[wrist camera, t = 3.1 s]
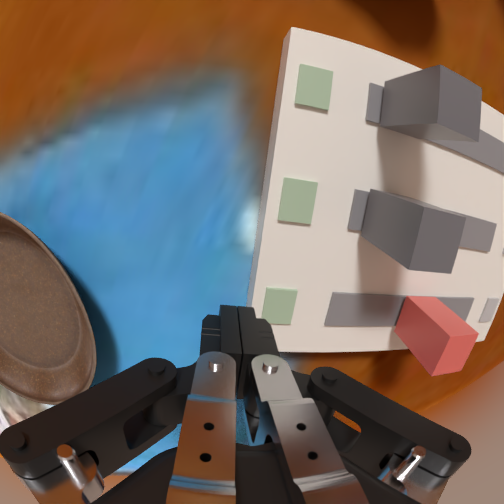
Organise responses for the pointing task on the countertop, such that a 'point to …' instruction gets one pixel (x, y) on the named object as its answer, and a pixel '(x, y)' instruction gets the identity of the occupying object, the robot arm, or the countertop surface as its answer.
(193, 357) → the countertop surface
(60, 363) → the saucer
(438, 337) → the block
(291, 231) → the breaker panel
